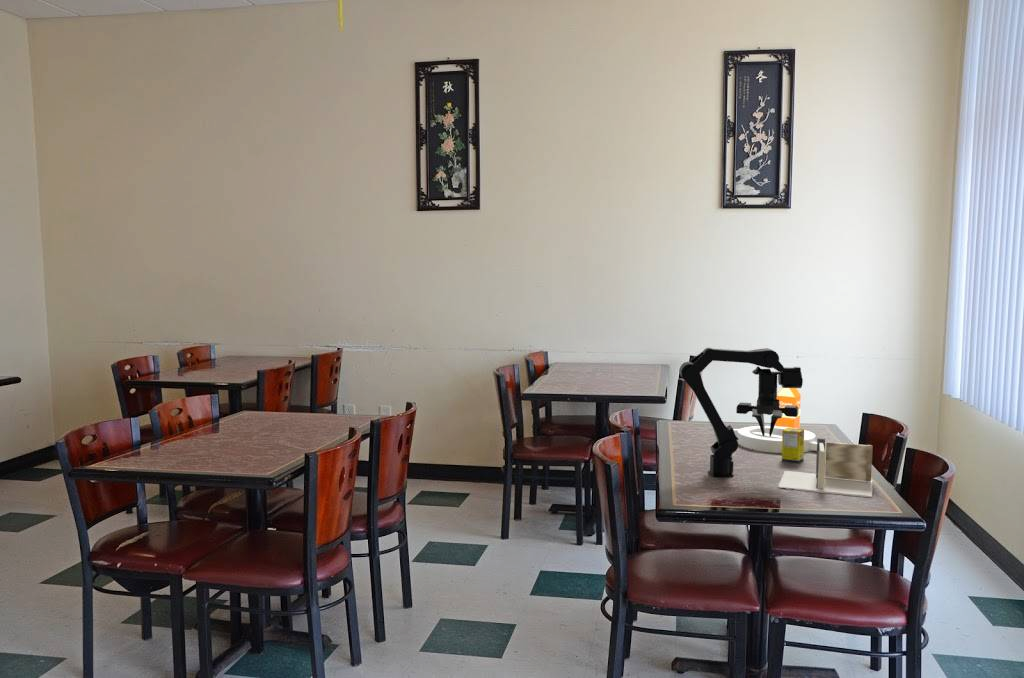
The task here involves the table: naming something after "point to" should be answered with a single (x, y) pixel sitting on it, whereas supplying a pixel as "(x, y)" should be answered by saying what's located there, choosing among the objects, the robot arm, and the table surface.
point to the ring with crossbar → (770, 439)
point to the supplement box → (793, 445)
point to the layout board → (825, 484)
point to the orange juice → (789, 398)
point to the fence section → (846, 460)
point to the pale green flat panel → (821, 466)
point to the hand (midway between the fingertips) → (766, 436)
